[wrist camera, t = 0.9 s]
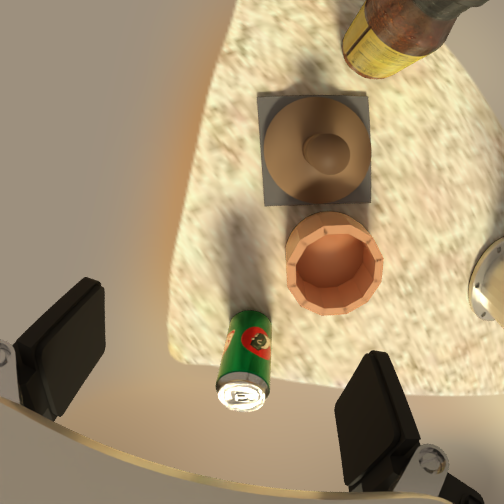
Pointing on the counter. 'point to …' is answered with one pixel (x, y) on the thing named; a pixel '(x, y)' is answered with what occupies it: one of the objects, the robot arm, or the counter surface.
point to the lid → (317, 150)
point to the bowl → (332, 263)
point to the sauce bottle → (399, 33)
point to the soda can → (246, 362)
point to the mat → (266, 113)
